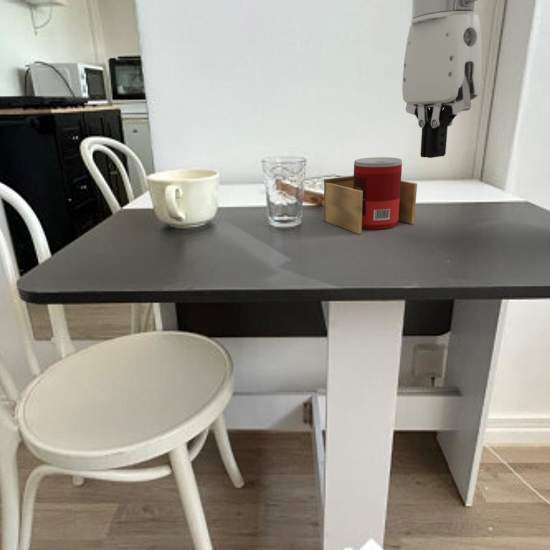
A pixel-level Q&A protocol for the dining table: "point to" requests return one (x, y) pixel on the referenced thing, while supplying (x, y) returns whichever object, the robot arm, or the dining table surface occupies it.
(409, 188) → the brown u-shaped panel piece
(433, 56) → the robot arm
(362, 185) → the canned food
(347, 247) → the dining table surface
